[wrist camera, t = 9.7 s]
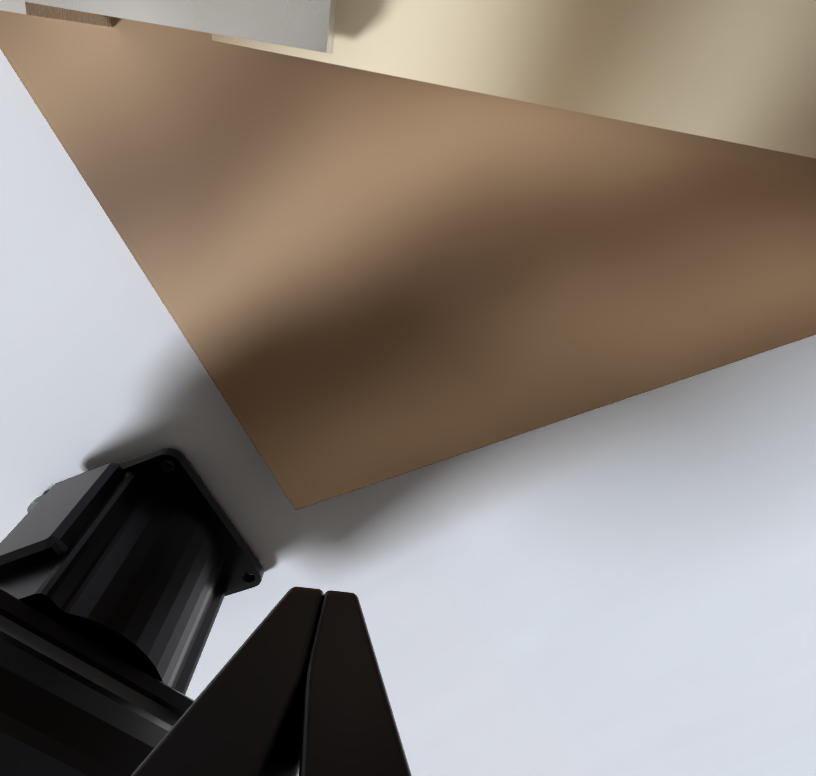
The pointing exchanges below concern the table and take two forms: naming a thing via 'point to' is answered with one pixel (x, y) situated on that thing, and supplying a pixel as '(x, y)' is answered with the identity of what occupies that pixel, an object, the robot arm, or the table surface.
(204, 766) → the robot arm
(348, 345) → the board
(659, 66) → the link
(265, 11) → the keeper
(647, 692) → the table surface
